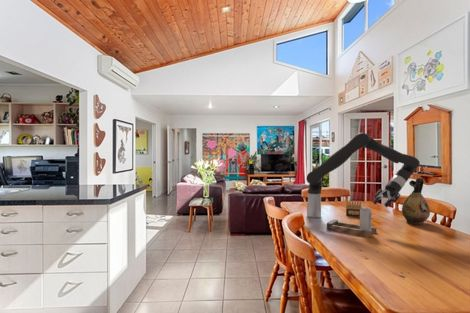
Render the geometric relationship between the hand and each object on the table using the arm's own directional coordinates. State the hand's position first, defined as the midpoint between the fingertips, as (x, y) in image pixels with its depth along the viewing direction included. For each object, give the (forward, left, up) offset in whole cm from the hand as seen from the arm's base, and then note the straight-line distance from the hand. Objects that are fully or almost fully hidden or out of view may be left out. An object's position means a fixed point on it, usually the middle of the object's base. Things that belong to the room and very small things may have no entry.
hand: (379, 204), depth 154 cm
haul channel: (-14, -8, -16) cm, 23 cm away
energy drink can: (-6, -8, -16) cm, 19 cm away
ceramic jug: (+14, +39, -16) cm, 45 cm away
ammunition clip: (-24, +34, -16) cm, 45 cm away
